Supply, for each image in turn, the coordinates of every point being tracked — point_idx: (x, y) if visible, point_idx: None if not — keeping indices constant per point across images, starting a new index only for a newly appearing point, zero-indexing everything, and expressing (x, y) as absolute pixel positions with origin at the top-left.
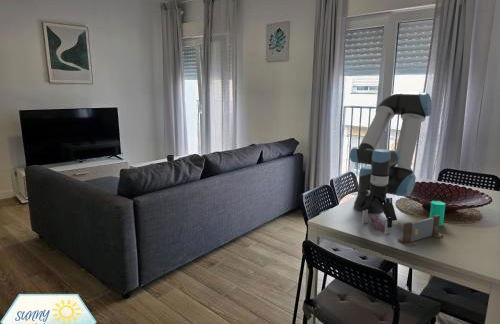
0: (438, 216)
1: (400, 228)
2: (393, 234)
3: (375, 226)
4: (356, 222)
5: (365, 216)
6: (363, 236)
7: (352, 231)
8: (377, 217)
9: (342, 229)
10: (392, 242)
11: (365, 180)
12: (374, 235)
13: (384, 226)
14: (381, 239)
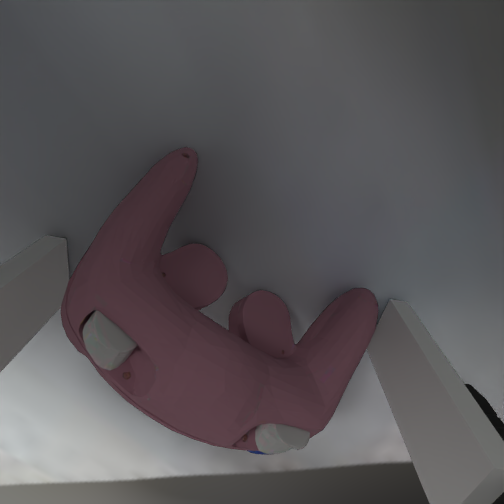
0: None
1: (471, 29)
2: (440, 286)
3: (229, 317)
4: None
5: (6, 326)
6: (261, 460)
7: (154, 450)
8: (231, 418)
9: (89, 465)
10: None
11: None
12: None
13: (359, 361)
14: (386, 425)
